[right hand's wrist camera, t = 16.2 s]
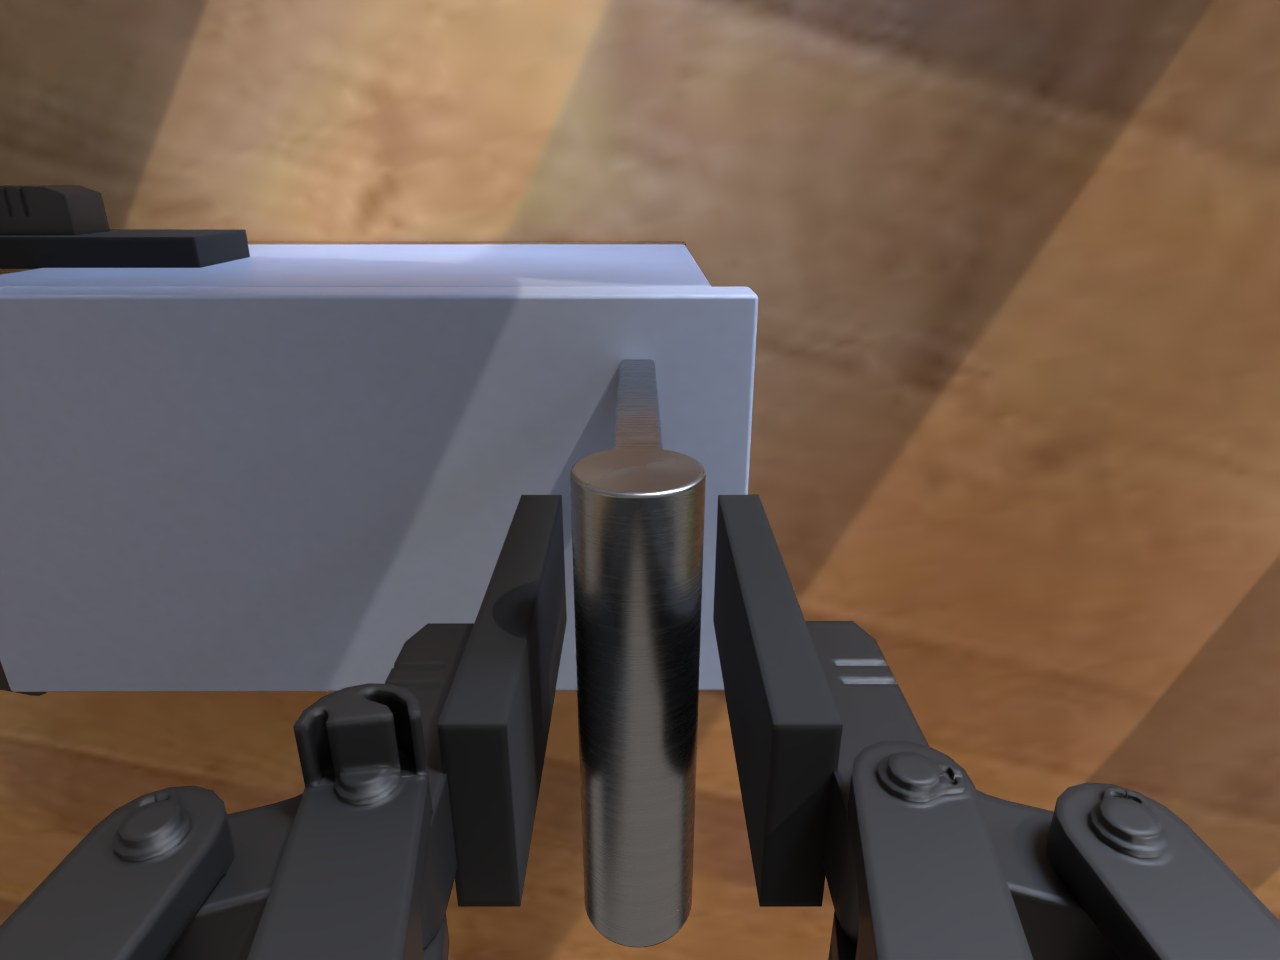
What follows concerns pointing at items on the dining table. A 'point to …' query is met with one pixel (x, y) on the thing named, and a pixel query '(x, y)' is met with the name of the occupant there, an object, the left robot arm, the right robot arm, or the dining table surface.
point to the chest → (407, 267)
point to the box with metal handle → (384, 507)
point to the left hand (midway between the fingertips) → (257, 428)
